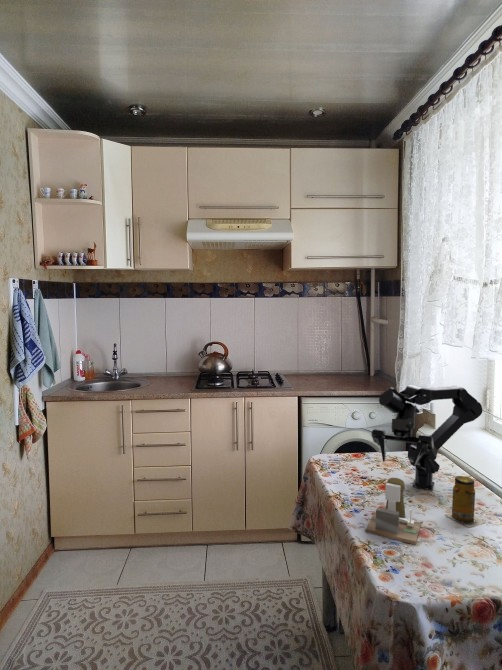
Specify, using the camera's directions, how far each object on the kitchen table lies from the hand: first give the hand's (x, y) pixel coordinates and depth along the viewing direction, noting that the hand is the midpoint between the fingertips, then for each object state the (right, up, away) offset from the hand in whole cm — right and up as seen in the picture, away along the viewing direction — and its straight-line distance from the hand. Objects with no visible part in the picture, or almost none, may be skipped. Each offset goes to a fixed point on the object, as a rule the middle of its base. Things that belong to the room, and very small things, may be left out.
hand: (398, 463), depth 143 cm
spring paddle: (-3, -13, -11) cm, 18 cm away
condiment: (+17, -15, -8) cm, 24 cm away
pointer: (-1, -14, -14) cm, 20 cm away
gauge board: (-6, -15, -14) cm, 21 cm away
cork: (-3, -14, -5) cm, 15 cm away
